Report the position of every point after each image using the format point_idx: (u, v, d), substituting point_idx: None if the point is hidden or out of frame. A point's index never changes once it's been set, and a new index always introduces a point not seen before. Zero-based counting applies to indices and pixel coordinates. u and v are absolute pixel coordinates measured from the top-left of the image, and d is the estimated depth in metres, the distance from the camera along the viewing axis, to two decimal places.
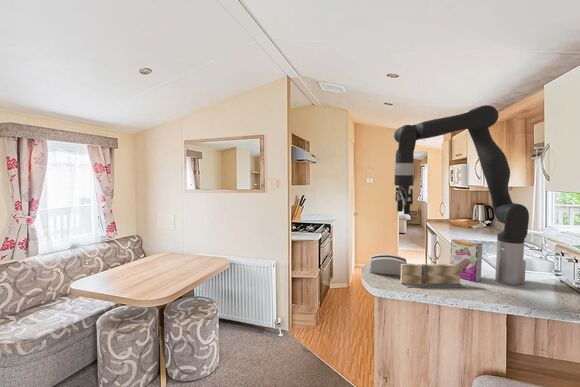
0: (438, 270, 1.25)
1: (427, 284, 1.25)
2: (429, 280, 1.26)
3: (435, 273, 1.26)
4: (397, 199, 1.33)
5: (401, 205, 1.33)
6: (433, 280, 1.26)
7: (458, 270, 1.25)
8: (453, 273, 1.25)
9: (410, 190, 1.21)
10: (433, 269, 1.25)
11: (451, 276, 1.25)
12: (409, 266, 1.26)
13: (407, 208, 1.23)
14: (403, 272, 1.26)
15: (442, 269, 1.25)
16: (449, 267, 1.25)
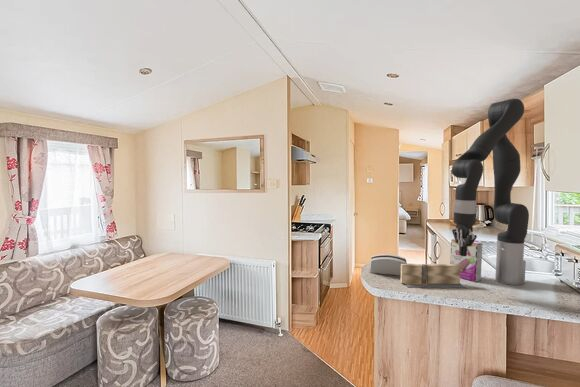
0: (438, 270, 1.25)
1: (427, 284, 1.25)
2: (429, 280, 1.26)
3: (435, 273, 1.26)
4: (458, 241, 1.20)
5: None
6: (433, 280, 1.26)
7: (458, 270, 1.25)
8: (453, 273, 1.25)
9: (474, 237, 1.13)
10: (433, 269, 1.25)
11: (451, 276, 1.25)
12: (409, 266, 1.26)
13: (464, 250, 1.18)
14: (403, 272, 1.26)
15: (442, 269, 1.25)
16: (449, 267, 1.25)
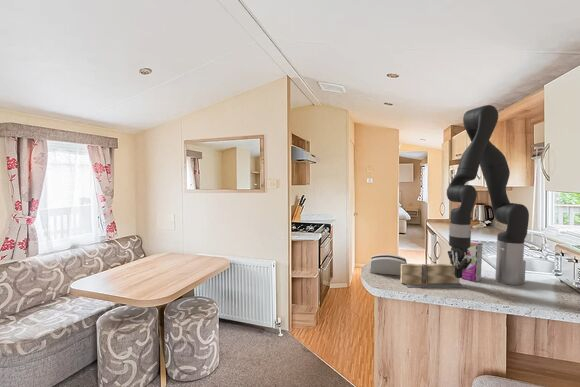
0: (438, 270, 1.26)
1: (427, 284, 1.25)
2: (429, 280, 1.26)
3: (435, 273, 1.26)
4: (454, 263, 1.23)
5: None
6: (433, 280, 1.26)
7: None
8: (453, 272, 1.26)
9: (469, 261, 1.16)
10: (433, 269, 1.26)
11: (451, 276, 1.26)
12: (409, 266, 1.26)
13: (460, 272, 1.21)
14: (403, 272, 1.26)
15: (442, 269, 1.26)
16: (449, 267, 1.26)
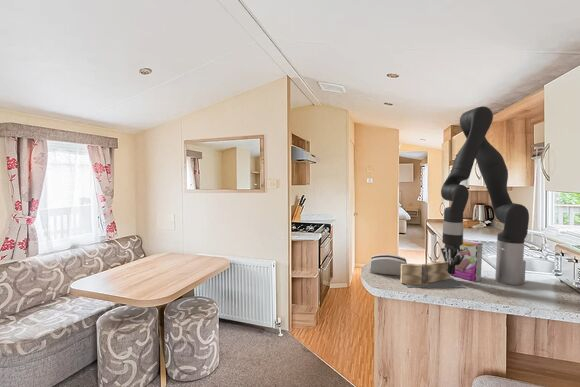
0: (435, 268, 1.28)
1: (427, 284, 1.25)
2: (428, 280, 1.27)
3: (433, 272, 1.27)
4: (447, 260, 1.28)
5: None
6: (431, 279, 1.27)
7: None
8: (446, 269, 1.30)
9: (461, 257, 1.21)
10: (431, 268, 1.27)
11: (444, 272, 1.30)
12: (409, 266, 1.26)
13: (453, 268, 1.26)
14: (403, 272, 1.26)
15: (438, 267, 1.28)
16: (443, 264, 1.29)
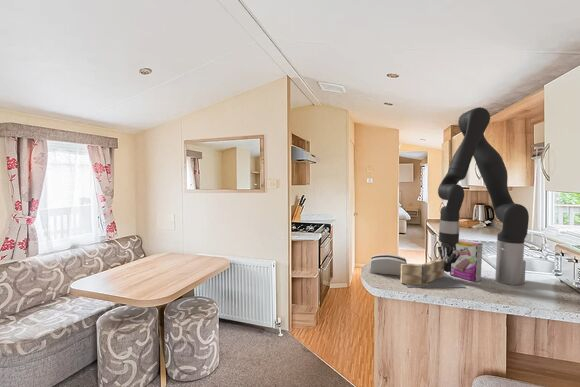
0: (433, 267, 1.29)
1: (427, 284, 1.25)
2: (428, 279, 1.27)
3: (431, 271, 1.28)
4: (443, 258, 1.31)
5: None
6: (430, 278, 1.28)
7: (443, 264, 1.33)
8: (441, 267, 1.32)
9: (457, 255, 1.24)
10: (430, 267, 1.28)
11: (440, 271, 1.32)
12: (409, 266, 1.26)
13: (449, 266, 1.29)
14: (403, 272, 1.26)
15: (435, 266, 1.30)
16: (439, 263, 1.31)
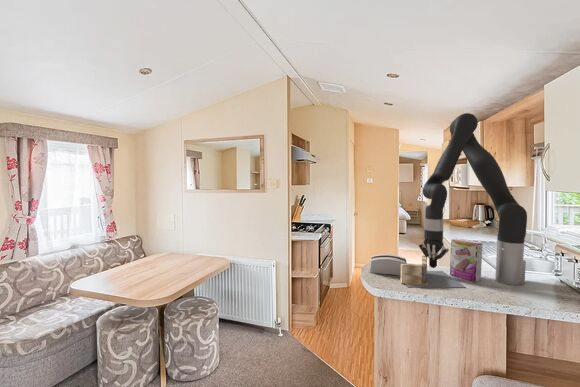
0: None
1: (427, 284, 1.25)
2: None
3: None
4: (429, 255, 1.36)
5: None
6: None
7: None
8: None
9: (447, 251, 1.31)
10: None
11: None
12: (409, 266, 1.26)
13: (435, 262, 1.35)
14: (403, 272, 1.26)
15: None
16: None
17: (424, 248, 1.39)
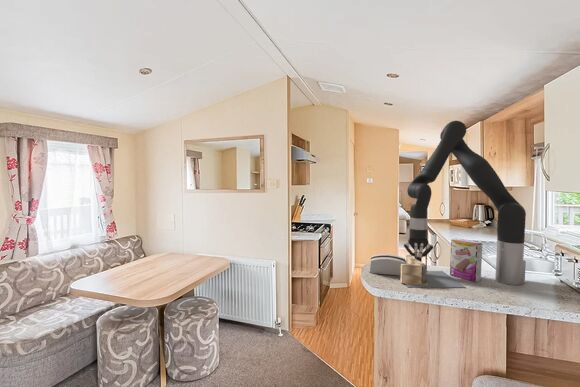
0: None
1: (427, 284, 1.25)
2: None
3: None
4: (416, 254, 1.38)
5: None
6: None
7: None
8: None
9: None
10: None
11: None
12: (409, 266, 1.26)
13: None
14: (403, 272, 1.26)
15: None
16: None
17: None
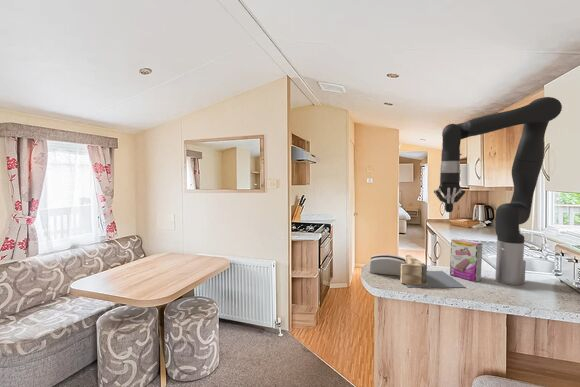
0: None
1: (427, 284, 1.25)
2: None
3: None
4: (448, 199, 1.31)
5: None
6: None
7: None
8: None
9: None
10: None
11: None
12: (409, 266, 1.26)
13: None
14: (403, 272, 1.26)
15: None
16: None
17: None
